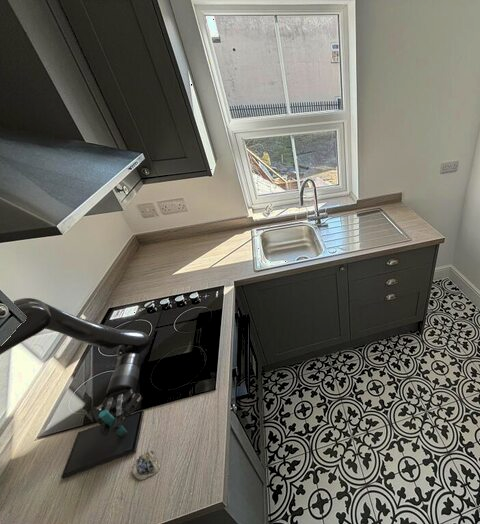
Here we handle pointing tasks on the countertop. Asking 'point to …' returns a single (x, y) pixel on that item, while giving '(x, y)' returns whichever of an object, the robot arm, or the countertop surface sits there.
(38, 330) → the robot arm
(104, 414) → the teal bar
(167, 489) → the countertop surface
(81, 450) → the tablet
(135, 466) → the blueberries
